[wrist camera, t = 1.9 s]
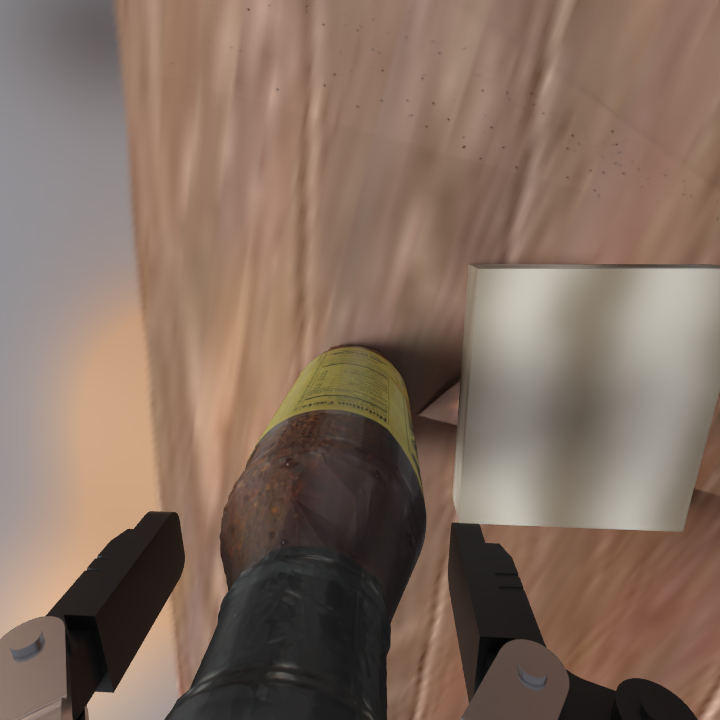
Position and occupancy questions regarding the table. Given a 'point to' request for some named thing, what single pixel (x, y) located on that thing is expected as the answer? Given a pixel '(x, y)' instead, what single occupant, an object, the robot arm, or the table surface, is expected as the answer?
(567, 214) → the table surface
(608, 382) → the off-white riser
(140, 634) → the robot arm
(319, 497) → the sauce bottle
